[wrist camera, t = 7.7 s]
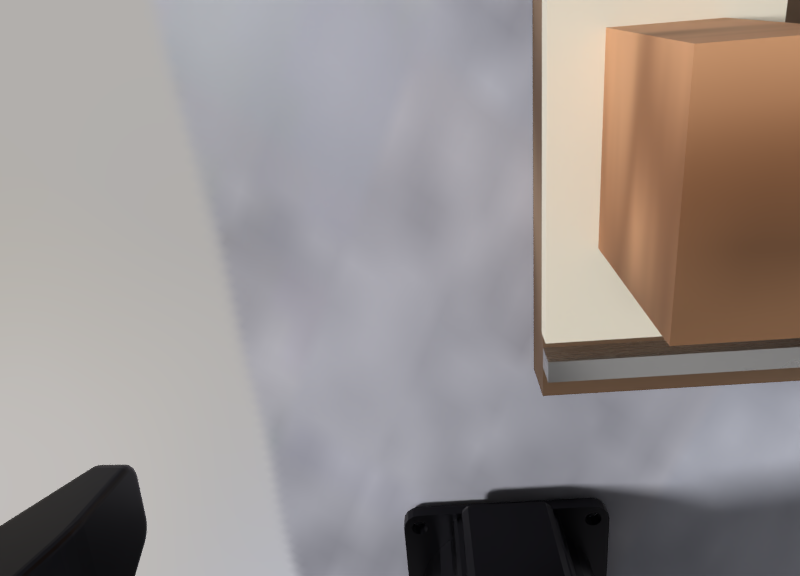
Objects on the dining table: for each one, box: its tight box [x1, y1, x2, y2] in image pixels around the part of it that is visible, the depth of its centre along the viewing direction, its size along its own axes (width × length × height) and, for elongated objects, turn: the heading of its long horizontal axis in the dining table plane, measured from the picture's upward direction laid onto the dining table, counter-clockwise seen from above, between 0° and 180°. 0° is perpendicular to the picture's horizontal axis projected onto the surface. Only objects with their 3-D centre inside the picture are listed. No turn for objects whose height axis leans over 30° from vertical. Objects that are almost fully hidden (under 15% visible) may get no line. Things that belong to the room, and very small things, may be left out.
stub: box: [542, 0, 800, 346], centre depth 14 cm, size 10×5×6 cm, turn 5°
